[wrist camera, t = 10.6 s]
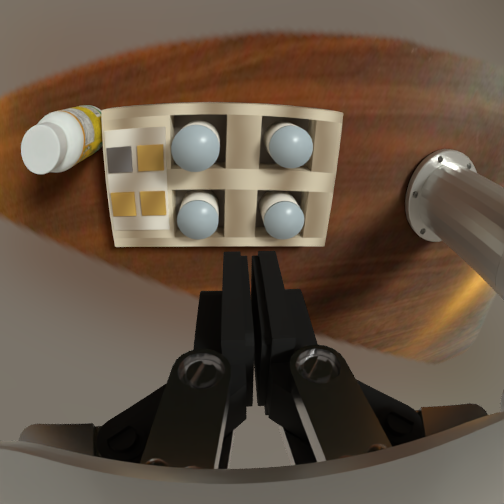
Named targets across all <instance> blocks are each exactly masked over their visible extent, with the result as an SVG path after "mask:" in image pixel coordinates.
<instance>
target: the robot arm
mask: <svg viewBox="0 0 504 504" xmlns="http://www.w3.org/2000/svg"><path fill="white" fill-rule="evenodd" d="M405 211H406V216H407V220H408V222H409V224H410V226H411V228H412V229H413V230H414V232H415V233H416V234H418V235H419V236H420V237H421V238H423V239H425V240H427V241H431V242H439V241H443V242H445V243H446V244H447V245H448V246H449V247H450V248H451V249H452V250H453V251H455V252H456V253H457V254H458V255H459V256H460V257H461V258H462V259H463V260H464V261H465V262H466V263H467V264H469V265H470V266H471V267H472V268H473V269H474V270H475V271H476V272H477V273H478V274H479V275H480V276H481V277H482V278H483V279H484V280H485V281H486V282H487V283H488V284H489V285H490V286H491V287H492V288H493V289H494V290H495V291H496V292H497V293H498V294H499V295H500V296H501V297H502V298H503V300H504V188H503V187H502V186H500V185H498V184H496V183H494V182H492V181H491V180H489V179H487V178H485V177H483V176H481V175H479V174H477V172H476V169H475V167H474V165H473V163H472V162H471V160H470V159H469V158H468V157H467V156H466V155H464V154H463V153H461V152H459V151H456V150H452V149H441V150H438V151H435V152H433V153H432V154H430V155H429V156H427V157H426V158H425V159H424V160H423V161H422V162H421V163H420V164H419V165H418V167H417V168H416V170H415V172H414V173H413V175H412V177H411V179H410V182H409V184H408V188H407V192H406V199H405ZM254 368H255V380H256V391H257V403H258V406H264V407H265V415H269V418H270V419H271V420H273V421H274V422H276V423H277V424H279V430H280V433H281V436H282V440H283V443H284V446H285V449H286V452H287V455H288V458H289V461H290V464H291V466H281V467H269V468H252V469H229V468H230V461H231V454H232V448H233V442H234V435H235V428H236V427H238V426H239V425H240V424H241V423H242V422H243V421H244V420H245V419H246V406H252V403H253V371H254ZM500 408H501V412H499V413H494V414H490V415H488V414H487V412H486V411H485V410H484V409H483V408H482V407H481V406H479V405H477V404H470V403H469V404H460V405H448V406H433V407H421V408H420V409H419V410H414V409H412V408H411V407H409V406H408V405H406V404H404V403H402V402H400V401H398V400H396V399H394V398H392V397H390V396H388V395H386V394H384V393H382V392H380V391H378V390H376V389H374V388H372V387H370V386H368V385H366V384H364V383H362V382H360V381H358V380H356V379H355V377H354V375H353V373H352V372H351V370H350V368H349V366H348V364H347V363H346V361H345V359H344V358H343V357H342V355H341V354H340V353H339V352H337V351H336V350H334V349H333V348H330V347H328V346H324V345H318V344H317V341H316V338H315V334H314V331H313V328H312V324H311V321H310V318H309V314H308V311H307V308H306V305H305V301H304V298H303V295H302V292H301V290H300V289H284V284H283V280H282V276H281V272H280V268H279V264H278V260H277V256H276V252H275V251H258V256H252V276H251V296H250V284H249V273H248V262H247V256H241V255H240V252H224V260H223V287H222V291H201V292H200V298H199V306H198V315H197V322H196V331H195V340H194V349H193V350H191V351H188V352H186V353H184V354H182V355H181V356H180V357H179V358H178V359H176V361H175V363H174V364H173V366H172V369H171V372H170V375H169V378H168V380H167V383H166V384H165V385H163V386H162V387H160V388H159V389H157V390H156V391H154V392H153V393H151V394H150V395H148V396H147V397H145V398H144V399H142V400H140V401H139V402H137V403H136V404H134V405H133V406H131V407H130V408H128V409H126V410H125V411H123V412H122V413H120V414H118V415H117V416H115V417H114V418H112V419H110V420H109V421H107V422H106V423H105V424H104V425H103V426H94V424H93V423H88V424H33V425H30V426H28V427H26V428H25V429H24V430H23V432H22V433H21V434H20V438H19V441H0V504H504V390H503V393H502V396H501V403H500Z"/></svg>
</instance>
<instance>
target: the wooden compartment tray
mask: <svg viewBox="0 0 504 504" xmlns="http://www.w3.org/2000/svg"><path fill="white" fill-rule="evenodd" d="M101 118H102V139H103V154H104V166H105V177H106V186H107V195H108V203H109V211H110V218H111V224H112V231H113V237H114V243H115V247H183V246H324V245H325V239H326V233H327V228H328V222H329V216H330V209H331V203H332V197H333V190H334V183H335V176H336V169H337V162H338V154H339V146H340V138H341V129H342V120H343V113H341V112H337V111H333V110H326V109H318V108H309V107H299V106H288V105H275V104H259V103H234V102H189V103H164V104H148V105H136V106H125V107H116V108H109V109H105V110H101ZM198 120H200V121H206V122H208V123H210V124H212V125H213V126H214V127H215V128H216V130H217V131H218V133H219V137H220V150H219V155H218V158H217V160H216V161H215V163H214V164H213V165H212V166H211V167H209V168H208V169H206V170H203V171H200V172H190V171H187V170H184V169H182V168H181V167H180V166H178V165H177V163H176V162H175V161H174V159H173V156H172V153H171V146H172V142H173V139H174V137H175V136H176V134H177V133H178V132H179V131H180V130H181V129H182V128H183V127H184V126H185V125H187V124H188V123H190V122H193V121H198ZM280 121H286V122H290V123H292V124H294V125H296V126H298V127H300V128H302V129H304V130H305V131H306V132H307V133H308V134H309V135H310V137H311V139H312V143H313V151H312V154H311V157H310V158H309V160H308V161H307V162H306V163H305V164H303V165H302V166H300V167H297V168H285V167H282V166H280V165H279V164H277V163H276V162H275V161H274V160H273V158H272V157H271V156H270V154H269V153H268V152H267V150H266V148H265V146H264V142H263V139H264V134H265V132H266V130H267V129H268V127H269V126H271V125H272V124H274V123H276V122H280ZM194 189H208V190H210V191H212V192H213V193H214V194H215V196H216V197H217V199H218V205H219V216H218V227H217V229H216V231H215V232H214V233H213V234H212V235H211V236H209V237H207V238H205V239H199V240H197V239H191V238H189V237H187V236H185V235H184V234H183V233H182V232H181V231H180V229H179V227H178V224H177V216H178V213H179V210H180V206H181V203H182V200H183V197H184V196H185V194H186V193H187V192H188V191H190V190H194ZM270 190H282V191H288V192H289V193H290V194H291V195H292V196H293V198H294V199H295V201H296V202H297V204H298V205H299V207H300V209H301V210H302V212H303V214H304V225H303V227H302V229H301V231H300V232H299V233H298V234H297V235H295V236H294V237H292V238H289V239H283V240H282V239H276V238H274V237H272V236H271V235H270V234H269V233H268V232H267V231H266V229H265V226H264V222H263V219H262V216H261V213H260V210H259V203H260V200H261V198H262V197H263V195H264V194H265V193H267V192H268V191H270Z"/></svg>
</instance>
